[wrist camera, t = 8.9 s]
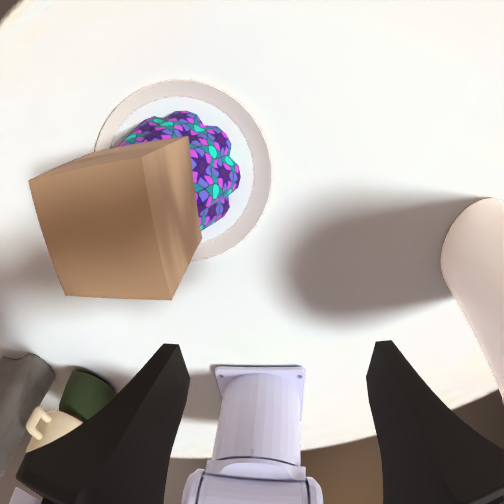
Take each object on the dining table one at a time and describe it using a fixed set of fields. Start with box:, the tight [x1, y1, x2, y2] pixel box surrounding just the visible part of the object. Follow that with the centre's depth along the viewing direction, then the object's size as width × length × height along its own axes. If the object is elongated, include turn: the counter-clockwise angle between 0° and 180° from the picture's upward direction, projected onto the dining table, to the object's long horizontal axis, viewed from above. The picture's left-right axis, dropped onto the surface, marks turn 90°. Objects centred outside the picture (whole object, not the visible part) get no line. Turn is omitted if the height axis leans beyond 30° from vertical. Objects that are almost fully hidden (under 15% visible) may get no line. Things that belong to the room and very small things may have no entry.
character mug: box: [26, 371, 116, 453], centre depth 25 cm, size 11×7×13 cm, turn 15°
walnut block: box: [29, 136, 202, 300], centre depth 12 cm, size 5×5×5 cm
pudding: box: [95, 79, 272, 261], centre depth 16 cm, size 12×12×5 cm
